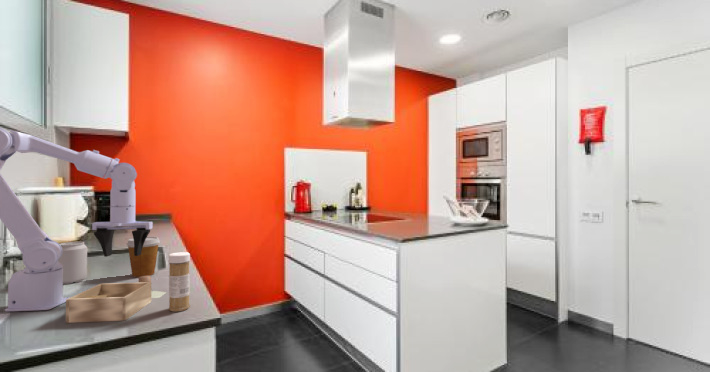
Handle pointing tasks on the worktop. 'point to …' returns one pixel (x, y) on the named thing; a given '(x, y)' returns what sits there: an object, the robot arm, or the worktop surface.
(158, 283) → the worktop surface
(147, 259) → the disposable coffee cup
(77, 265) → the can
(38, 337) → the worktop surface
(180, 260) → the sprinkles bottle
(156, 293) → the lid
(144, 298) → the box
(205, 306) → the worktop surface
